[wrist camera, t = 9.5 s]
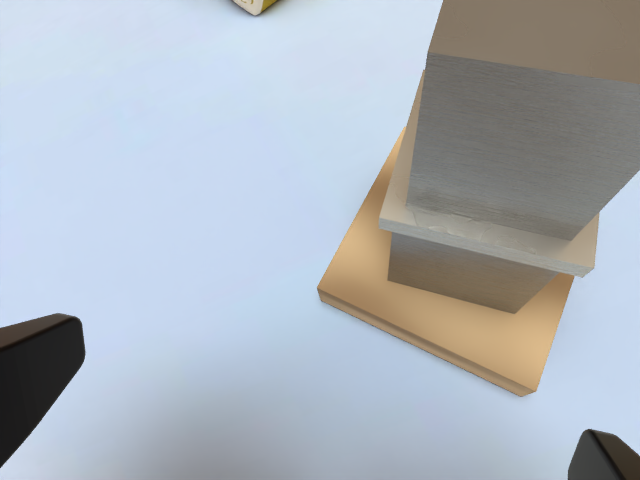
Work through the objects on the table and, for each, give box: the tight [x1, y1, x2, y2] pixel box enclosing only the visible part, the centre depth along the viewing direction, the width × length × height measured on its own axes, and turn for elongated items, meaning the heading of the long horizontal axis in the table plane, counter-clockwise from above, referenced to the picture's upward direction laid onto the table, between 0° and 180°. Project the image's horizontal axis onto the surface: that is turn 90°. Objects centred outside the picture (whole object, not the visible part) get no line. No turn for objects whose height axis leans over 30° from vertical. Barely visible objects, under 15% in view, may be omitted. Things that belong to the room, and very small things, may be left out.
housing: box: [379, 0, 640, 314], centre depth 15 cm, size 6×6×13 cm
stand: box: [317, 127, 574, 397], centre depth 22 cm, size 10×10×2 cm
